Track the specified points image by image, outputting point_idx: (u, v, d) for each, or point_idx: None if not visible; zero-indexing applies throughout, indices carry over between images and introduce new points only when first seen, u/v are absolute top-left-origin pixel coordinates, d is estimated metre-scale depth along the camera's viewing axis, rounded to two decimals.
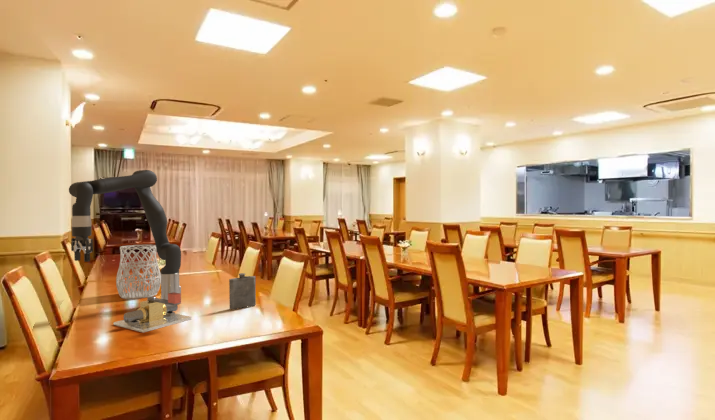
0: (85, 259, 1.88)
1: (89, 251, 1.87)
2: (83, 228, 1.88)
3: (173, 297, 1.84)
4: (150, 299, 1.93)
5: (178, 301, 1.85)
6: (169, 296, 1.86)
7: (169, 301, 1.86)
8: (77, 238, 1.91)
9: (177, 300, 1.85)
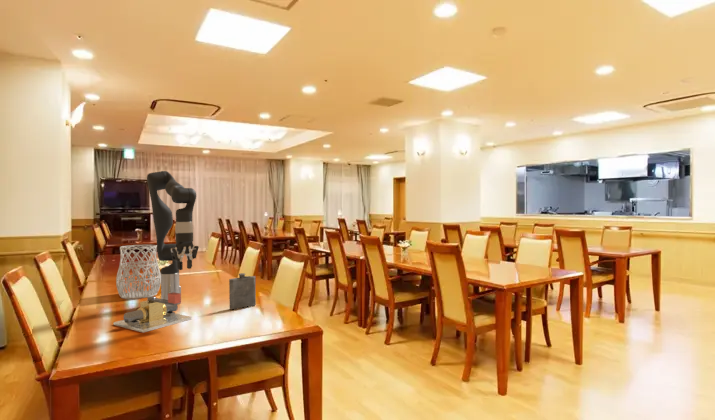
0: (191, 266, 1.93)
1: (194, 257, 1.95)
2: None
3: (173, 297, 1.84)
4: (150, 299, 1.93)
5: (178, 301, 1.85)
6: (169, 296, 1.86)
7: (169, 301, 1.86)
8: (182, 244, 1.89)
9: (177, 300, 1.85)
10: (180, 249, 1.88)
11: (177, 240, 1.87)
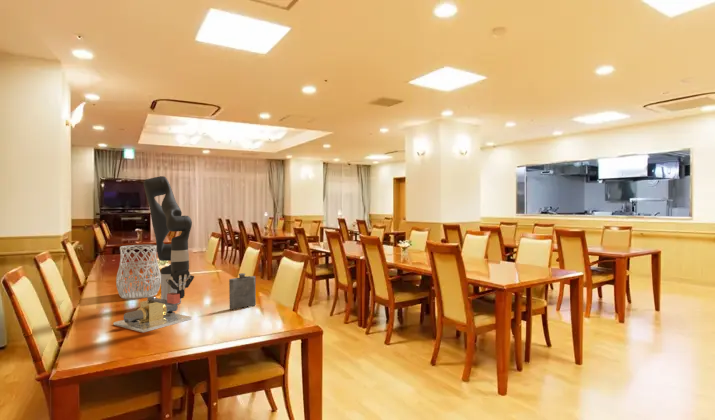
0: (183, 295, 1.89)
1: None
2: None
3: (172, 298, 1.84)
4: (150, 299, 1.93)
5: (177, 301, 1.85)
6: (168, 296, 1.85)
7: (168, 301, 1.85)
8: (178, 273, 1.87)
9: (176, 301, 1.84)
10: (175, 278, 1.86)
11: (172, 269, 1.86)
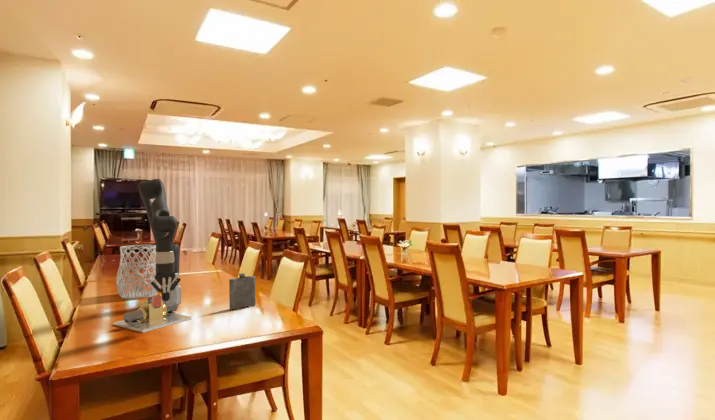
0: (168, 298, 1.83)
1: None
2: None
3: (153, 300, 1.79)
4: (148, 299, 1.93)
5: (157, 304, 1.79)
6: (152, 298, 1.81)
7: (152, 304, 1.81)
8: (162, 275, 1.81)
9: (157, 304, 1.79)
10: (159, 280, 1.80)
11: (156, 271, 1.80)
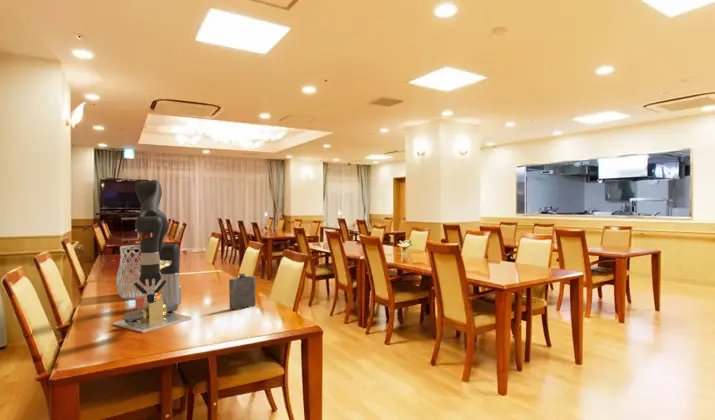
0: (152, 300, 1.79)
1: (158, 291, 1.81)
2: (158, 265, 1.80)
3: None
4: None
5: (140, 306, 1.76)
6: None
7: None
8: (146, 276, 1.78)
9: (139, 305, 1.76)
10: (142, 281, 1.78)
11: (140, 272, 1.78)
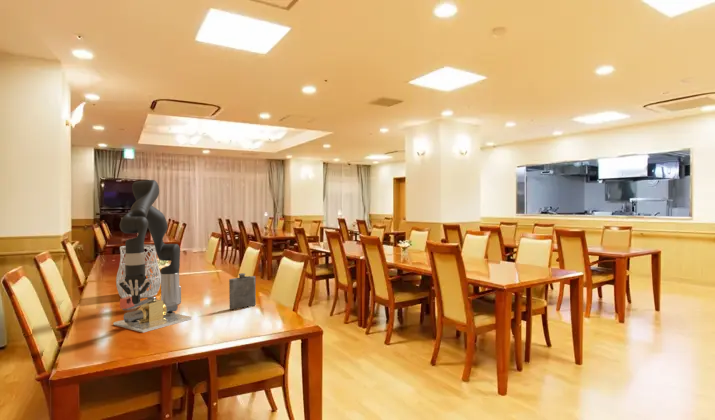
0: (136, 301, 1.77)
1: (143, 292, 1.78)
2: (142, 266, 1.77)
3: None
4: (147, 299, 1.94)
5: (123, 306, 1.76)
6: None
7: None
8: (130, 277, 1.77)
9: (123, 306, 1.76)
10: (127, 282, 1.77)
11: None
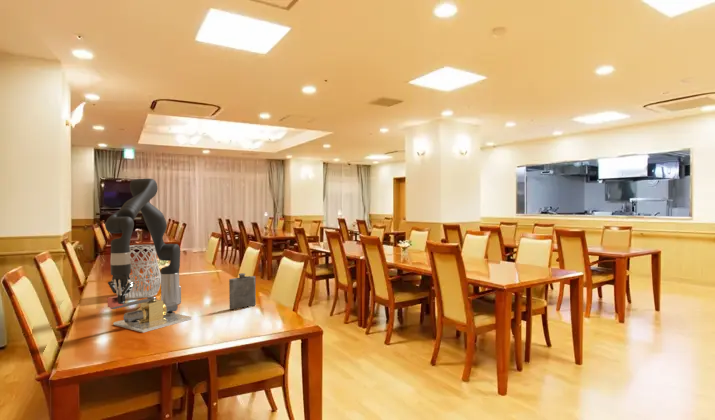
0: (121, 301, 1.78)
1: (126, 293, 1.77)
2: (124, 266, 1.77)
3: None
4: None
5: (109, 305, 1.78)
6: None
7: None
8: (115, 277, 1.78)
9: (109, 304, 1.78)
10: (113, 281, 1.79)
11: None
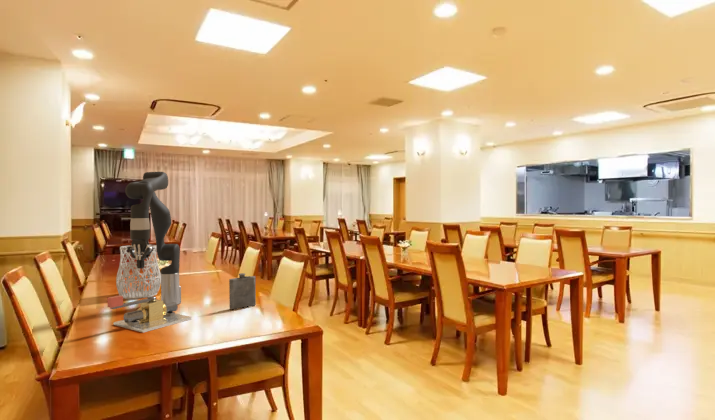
0: (140, 266, 1.81)
1: (145, 257, 1.81)
2: (144, 231, 1.80)
3: None
4: None
5: (109, 305, 1.78)
6: None
7: None
8: (135, 242, 1.82)
9: (109, 304, 1.78)
10: (133, 246, 1.82)
11: None
